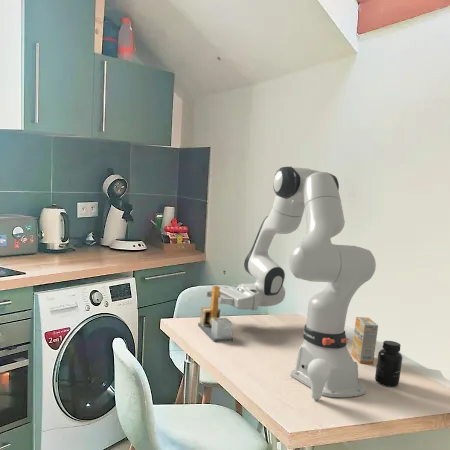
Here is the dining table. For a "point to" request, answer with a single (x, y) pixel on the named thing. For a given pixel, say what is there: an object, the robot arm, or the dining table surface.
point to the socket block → (203, 315)
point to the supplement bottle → (389, 364)
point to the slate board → (208, 331)
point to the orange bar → (213, 305)
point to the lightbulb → (318, 376)
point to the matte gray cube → (221, 328)
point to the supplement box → (364, 340)
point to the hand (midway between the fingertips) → (212, 297)
